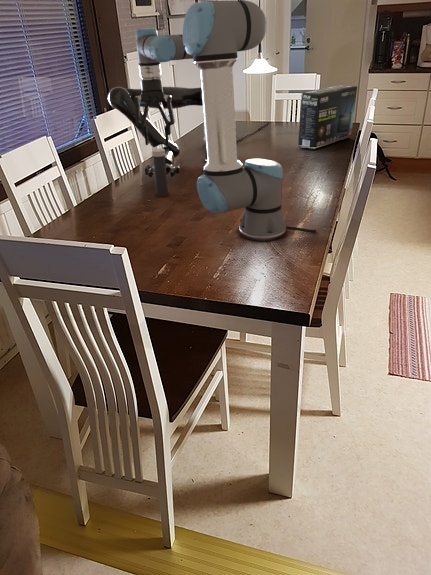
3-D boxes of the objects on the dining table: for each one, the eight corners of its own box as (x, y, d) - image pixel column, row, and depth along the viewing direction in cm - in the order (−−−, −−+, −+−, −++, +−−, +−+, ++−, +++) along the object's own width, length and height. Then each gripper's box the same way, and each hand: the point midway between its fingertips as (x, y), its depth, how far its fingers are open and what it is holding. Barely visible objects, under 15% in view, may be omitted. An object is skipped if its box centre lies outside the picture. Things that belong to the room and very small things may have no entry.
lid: (163, 156, 174) (162, 151, 173) (150, 156, 175) (149, 151, 174) (166, 153, 178) (165, 148, 177) (153, 153, 179) (153, 148, 178)
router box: (314, 151, 231) (318, 94, 217) (296, 148, 237) (299, 92, 224) (352, 138, 251) (358, 85, 238) (335, 135, 258) (340, 83, 245)
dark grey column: (166, 196, 182) (162, 152, 173) (155, 196, 183) (150, 152, 174) (169, 192, 186) (165, 149, 177) (158, 192, 187) (153, 149, 178)
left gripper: (147, 155, 197) (142, 166, 183) (180, 154, 196) (177, 164, 182) (149, 172, 201) (144, 184, 187) (181, 171, 200) (179, 183, 186)
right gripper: (120, 80, 160) (129, 147, 172) (177, 78, 158) (182, 146, 170) (125, 77, 166) (133, 142, 178) (180, 76, 165) (184, 141, 177)
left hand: (160, 174), depth 185 cm, fingers open, 8 cm apart
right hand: (157, 144), depth 174 cm, fingers open, 7 cm apart
